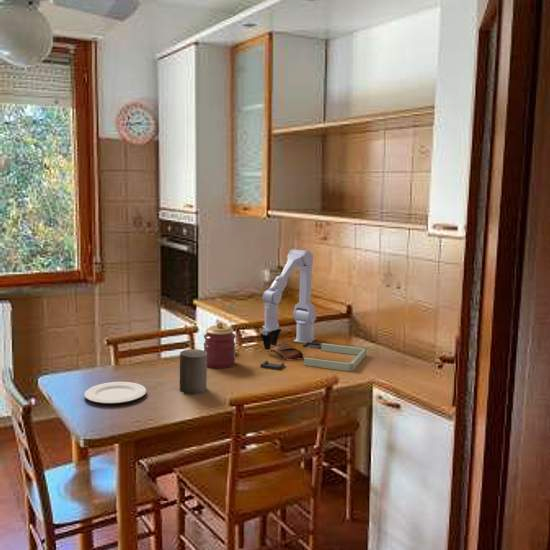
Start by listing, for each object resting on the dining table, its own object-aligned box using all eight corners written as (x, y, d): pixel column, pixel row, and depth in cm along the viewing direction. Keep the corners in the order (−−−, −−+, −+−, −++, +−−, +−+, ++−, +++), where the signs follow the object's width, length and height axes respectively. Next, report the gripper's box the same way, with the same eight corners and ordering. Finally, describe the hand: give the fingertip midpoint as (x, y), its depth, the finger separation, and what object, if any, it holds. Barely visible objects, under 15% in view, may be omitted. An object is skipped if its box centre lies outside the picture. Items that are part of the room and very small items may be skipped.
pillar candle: (176, 393, 214) (177, 352, 212) (182, 384, 224) (183, 344, 221) (204, 395, 214) (204, 353, 211) (208, 385, 223) (209, 346, 221)
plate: (75, 393, 212) (75, 388, 212) (131, 382, 225) (131, 377, 224) (98, 412, 196) (98, 407, 196) (157, 399, 208) (156, 394, 208)
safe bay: (321, 349, 273) (322, 343, 273) (366, 355, 266) (366, 348, 265) (303, 365, 250) (304, 358, 249) (351, 371, 243) (352, 364, 242)
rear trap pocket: (306, 344, 281) (306, 341, 281) (323, 346, 278) (323, 343, 278) (303, 347, 277) (303, 344, 276) (319, 349, 274) (320, 346, 274)
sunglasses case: (266, 349, 271) (273, 336, 272) (278, 355, 274) (285, 342, 275) (285, 360, 255) (293, 346, 256) (298, 367, 259) (305, 353, 259)
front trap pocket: (266, 363, 251) (266, 360, 251) (284, 365, 248) (284, 363, 248) (260, 367, 246) (260, 364, 245) (279, 370, 243) (279, 367, 243)
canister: (215, 371, 240) (215, 327, 237) (197, 363, 249) (197, 321, 247) (241, 365, 248) (242, 322, 245) (223, 357, 258) (223, 316, 255)
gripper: (268, 312, 274) (268, 342, 276) (256, 319, 261) (255, 350, 263) (283, 314, 272) (282, 344, 274) (271, 321, 258) (270, 352, 260)
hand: (270, 347), depth 268 cm, fingers open, 7 cm apart
